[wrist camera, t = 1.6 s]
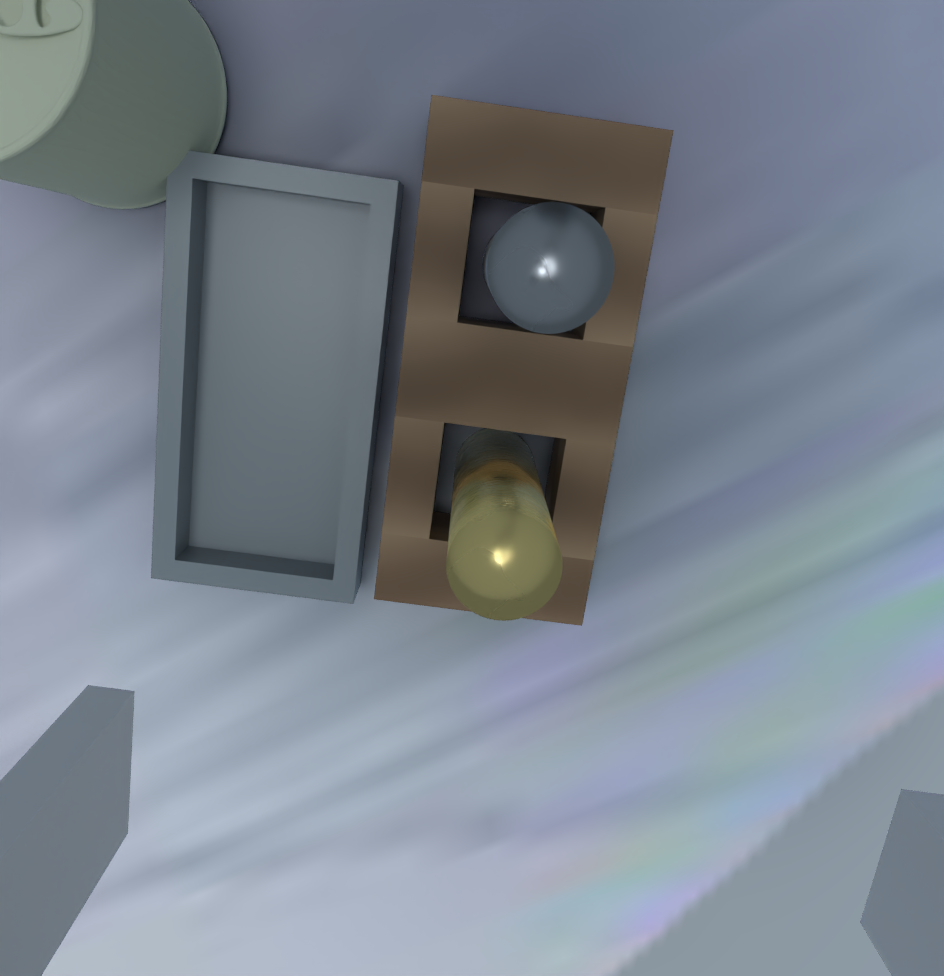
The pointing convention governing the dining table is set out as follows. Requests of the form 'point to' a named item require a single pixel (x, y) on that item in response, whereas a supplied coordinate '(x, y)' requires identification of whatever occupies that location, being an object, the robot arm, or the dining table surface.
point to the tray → (270, 373)
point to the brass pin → (500, 529)
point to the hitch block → (516, 334)
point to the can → (106, 96)
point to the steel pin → (549, 267)
